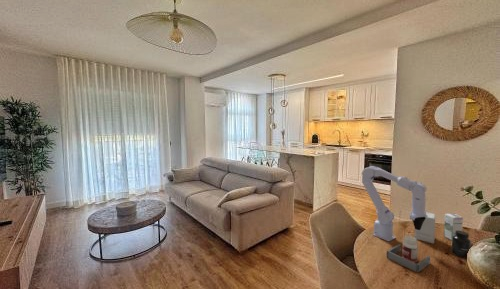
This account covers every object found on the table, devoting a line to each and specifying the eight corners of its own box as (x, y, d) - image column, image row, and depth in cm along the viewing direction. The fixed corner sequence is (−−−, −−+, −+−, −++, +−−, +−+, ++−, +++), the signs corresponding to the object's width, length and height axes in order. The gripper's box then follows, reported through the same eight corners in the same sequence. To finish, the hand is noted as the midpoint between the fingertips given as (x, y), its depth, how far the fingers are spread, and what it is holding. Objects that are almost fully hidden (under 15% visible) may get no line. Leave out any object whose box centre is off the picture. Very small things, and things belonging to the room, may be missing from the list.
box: (386, 257, 109) (386, 251, 109) (399, 250, 115) (399, 243, 115) (417, 272, 97) (418, 265, 97) (429, 263, 103) (430, 256, 103)
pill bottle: (398, 256, 109) (399, 235, 108) (409, 255, 110) (410, 234, 109) (409, 264, 103) (410, 242, 102) (420, 262, 104) (421, 240, 103)
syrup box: (462, 241, 122) (463, 217, 121) (452, 241, 123) (453, 217, 121) (453, 236, 128) (454, 213, 127) (443, 236, 128) (444, 213, 127)
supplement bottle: (464, 259, 106) (465, 236, 105) (448, 252, 112) (449, 230, 111) (473, 257, 108) (474, 234, 107) (457, 249, 114) (458, 228, 113)
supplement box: (434, 237, 127) (435, 213, 126) (434, 244, 120) (435, 218, 119) (415, 233, 133) (416, 210, 132) (414, 238, 126) (414, 214, 125)
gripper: (421, 210, 109) (420, 235, 109) (433, 204, 116) (432, 228, 117) (405, 206, 115) (404, 230, 116) (417, 201, 122) (417, 224, 123)
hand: (417, 229), depth 117 cm, fingers closed
